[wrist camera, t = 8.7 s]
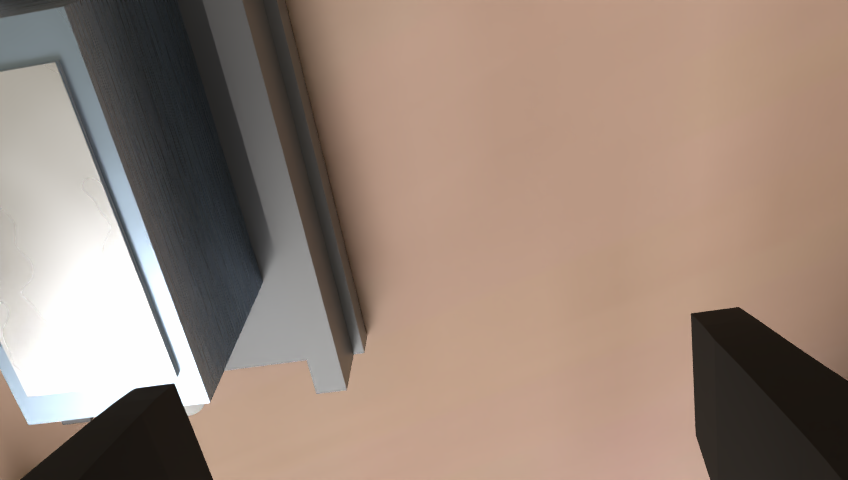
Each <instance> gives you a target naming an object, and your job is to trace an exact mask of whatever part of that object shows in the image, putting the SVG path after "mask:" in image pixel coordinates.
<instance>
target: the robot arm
mask: <svg viewBox="0 0 848 480" xmlns="http://www.w3.org/2000/svg"><path fill="white" fill-rule="evenodd" d="M691 326H692V351H693V377H694V402H695V427H696V437H697V440H698V443H699V446H700V449H701V453H702V456H703V459H704V462H705V465H706V468H707V471H708V474H709V477H710V480H848V381H847V380H846V379H844V378H843V377H841V376H839V375H838V374H836V373H835V372H833V371H832V370H830V369H829V368H827V367H826V366H824V365H823V364H821V363H820V362H818V361H817V360H815V359H814V358H812V357H811V356H809V355H808V354H806V353H805V352H803V351H802V350H801V349H799V348H798V347H796V346H795V345H793V344H792V343H790V342H789V341H787V340H786V339H785V338H783V337H782V336H780V335H779V334H777V333H776V332H774V331H773V330H772V329H770V328H769V327H767V326H766V325H764V324H763V323H762V322H760V321H759V320H757V319H756V318H754V317H753V316H751V315H750V314H748V313H747V312H745V311H744V310H742V309H741V308H739V307H736V308H729V309H721V310H714V311H706V312H699V313H691ZM20 480H213V478H212V476H211V473H210V471H209V468H208V466H207V463H206V461H205V458H204V456H203V453H202V451H201V448H200V446H199V443H198V441H197V438H196V436H195V433H194V431H193V428H192V426H191V423H190V421H189V418H188V416H187V413H186V411H185V408H184V406H183V403H182V401H181V398H180V396H179V393H178V391H177V388H176V386H175V383H171V384H163V385H156V386H148V387H141V388H134V389H133V390H131V391H130V392H128V393H127V394H126V395H124V396H123V397H121V398H120V399H119V400H117V401H116V402H115V403H113V404H112V405H111V406H109V407H108V408H107V409H105V410H104V411H103V412H102V413H100V414H99V415H98V416H97V417H95V418H94V419H93V420H92V421H91V422H89V423H88V424H87V425H86V426H84V427H83V428H82V429H81V430H80V431H78V432H77V433H76V434H75V435H74V436H72V437H71V438H70V439H69V440H68V441H66V442H65V443H64V444H63V445H62V446H60V447H59V448H58V449H57V450H55V451H54V452H53V453H52V454H51V455H49V456H48V457H47V458H46V459H45V460H43V461H42V462H41V463H40V464H39V465H37V466H36V467H35V468H34V469H32V470H31V471H30V472H29V473H28V474H26V475H25V476H24V477H23V478H22V479H20Z"/></svg>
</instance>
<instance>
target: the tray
mask: <svg viewBox="0 0 848 480" xmlns="http://www.w3.org/2000/svg"><path fill="white" fill-rule="evenodd" d="M177 1H178V5H179V8H180V11H181V14H182V18H183V21H184V24H185V28H186V31H187V34H188V37H189V41H190V44H191V47H192V51H193V54H194V57H195V60H196V64H197V67H198V70H199V74H200V77H201V80H202V83H203V87H204V90H205V93H206V97H207V100H208V103H209V106H210V110H211V113H212V116H213V120H214V123H215V126H216V129H217V133H218V136H219V139H220V142H221V146H222V149H223V152H224V156H225V159H226V162H227V165H228V169H229V172H230V175H231V179H232V182H233V185H234V188H235V192H236V195H237V198H238V202H239V205H240V208H241V211H242V215H243V218H244V221H245V225H246V228H247V231H248V234H249V238H250V241H251V244H252V247H253V251H254V254H255V257H256V261H257V264H258V267H259V270H260V274H261V277H262V280H263V284H262V286H261V288H260V290H259V293H258V295H257V297H256V299H255V302H254V304H253V306H252V309H251V311H250V313H249V315H248V318H247V320H246V322H245V324H244V327H243V329H242V331H241V333H240V336H239V338H238V340H237V343H236V345H235V347H234V349H233V352H232V354H231V356H230V358H229V361H228V363H227V365H226V367H225V370H224V371H226V370H234V369H241V368H249V367H257V366H265V365H273V364H281V363H289V362H297V361H304V360H307V363H308V366H309V370H310V373H311V377H312V380H313V383H314V387H315V390H316V394H320V393H328V392H336V391H344V390H347V386H348V381H349V376H350V370H351V365H352V360H353V355H354V354H360V353H364V351H365V346H366V340H367V334H366V330H365V326H364V322H363V318H362V314H361V310H360V306H359V302H358V298H357V293H356V289H355V285H354V281H353V277H352V273H351V269H350V265H349V261H348V257H347V252H346V248H345V244H344V240H343V236H342V232H341V228H340V224H339V220H338V216H337V211H336V207H335V203H334V199H333V195H332V191H331V187H330V183H329V179H328V175H327V170H326V166H325V162H324V158H323V154H322V150H321V146H320V142H319V138H318V134H317V129H316V125H315V121H314V117H313V113H312V109H311V105H310V101H309V97H308V93H307V88H306V84H305V80H304V76H303V72H302V68H301V64H300V60H299V56H298V52H297V47H296V43H295V39H294V35H293V31H292V27H291V23H290V19H289V15H288V10H287V6H286V2H285V0H177ZM204 404H205V403H203V404H195V405H187V406H184V408H185V411H186V413H187V416H190V415H193V414H196V413H198V412H199V411H200V410H201V409H202V408H203V406H204ZM93 418H94V417H90V418H82V419H73V420H65V421H61V422H62V424H63V425H66V424H74V423H82V422H91V421H92V419H93Z"/></svg>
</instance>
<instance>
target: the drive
mask: <svg viewBox="0 0 848 480" xmlns="http://www.w3.org/2000/svg"><path fill="white" fill-rule="evenodd" d="M262 284H263V280H262V277H261V274H260V270H259V267H258V264H257V261H256V257H255V254H254V251H253V247H252V244H251V241H250V238H249V234H248V231H247V228H246V225H245V221H244V218H243V215H242V211H241V208H240V205H239V202H238V198H237V195H236V192H235V188H234V185H233V182H232V179H231V175H230V172H229V169H228V165H227V162H226V159H225V156H224V152H223V149H222V146H221V142H220V139H219V136H218V133H217V129H216V126H215V123H214V120H213V116H212V113H211V110H210V106H209V103H208V100H207V97H206V93H205V90H204V87H203V83H202V80H201V77H200V74H199V70H198V67H197V64H196V60H195V57H194V54H193V51H192V47H191V44H190V41H189V37H188V34H187V31H186V28H185V24H184V21H183V18H182V14H181V11H180V8H179V5H178V1H177V0H0V370H1V372H2V374H3V376H4V378H5V380H6V382H7V384H8V385H9V387H10V389H11V391H12V393H13V395H14V397H15V399H16V401H17V403H18V405H19V407H20V409H21V411H22V413H23V415H24V417H25V419H26V421H27V423H28V425H33V424H41V423H49V422H57V421H65V420H73V419H82V418H90V417H97V416H98V415H99V414H100V413H102V412H103V411H104V410H105V409H107V408H108V407H109V406H111V405H112V404H113V403H115V402H116V401H117V400H119V399H120V398H121V397H123V396H124V395H126V394H127V393H128V392H130V391H131V390H133V389H134V388H141V387H148V386H156V385H163V384H171V383H175V386H176V388H177V391H178V393H179V396H180V398H181V401H182V403H183V406H187V405H195V404H203V403H210V402H211V399H212V397H213V395H214V392H215V390H216V388H217V386H218V383H219V381H220V379H221V377H222V374H223V372H224V370H225V367H226V365H227V363H228V361H229V358H230V356H231V354H232V352H233V349H234V347H235V345H236V343H237V340H238V338H239V336H240V333H241V331H242V329H243V327H244V324H245V322H246V320H247V318H248V315H249V313H250V311H251V309H252V306H253V304H254V302H255V299H256V297H257V295H258V293H259V290H260V288H261V286H262Z"/></svg>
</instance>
